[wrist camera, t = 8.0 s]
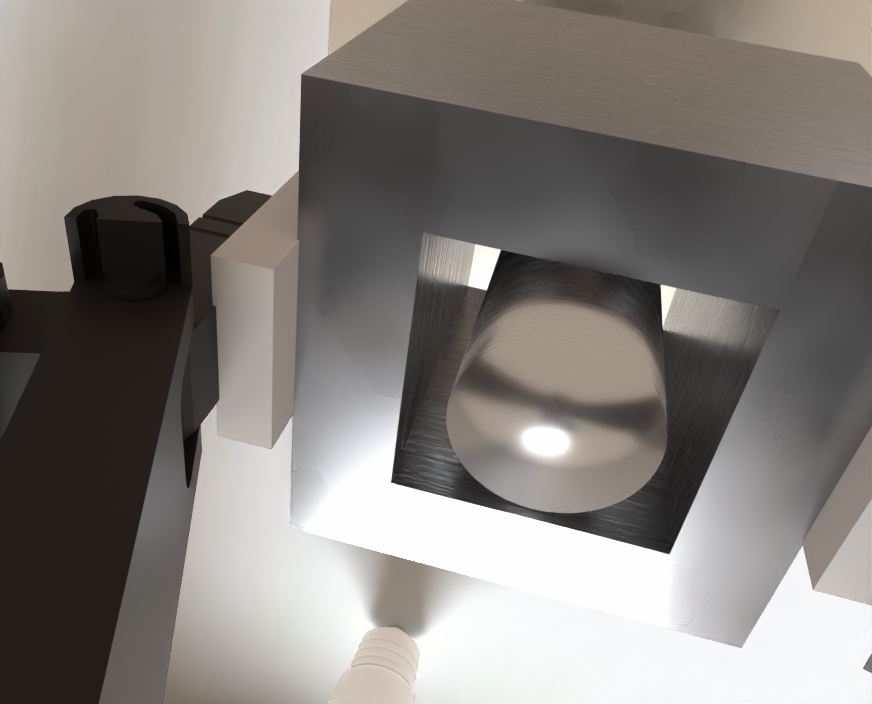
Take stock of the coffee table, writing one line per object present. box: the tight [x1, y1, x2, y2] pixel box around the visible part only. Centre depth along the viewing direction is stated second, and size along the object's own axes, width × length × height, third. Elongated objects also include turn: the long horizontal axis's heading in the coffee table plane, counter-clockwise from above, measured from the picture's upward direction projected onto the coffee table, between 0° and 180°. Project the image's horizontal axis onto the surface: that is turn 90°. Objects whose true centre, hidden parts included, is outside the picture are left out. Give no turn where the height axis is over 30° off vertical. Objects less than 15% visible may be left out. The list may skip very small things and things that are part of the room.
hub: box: [290, 0, 872, 648], centre depth 12 cm, size 7×7×6 cm
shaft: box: [328, 0, 872, 513], centre depth 15 cm, size 12×14×13 cm
